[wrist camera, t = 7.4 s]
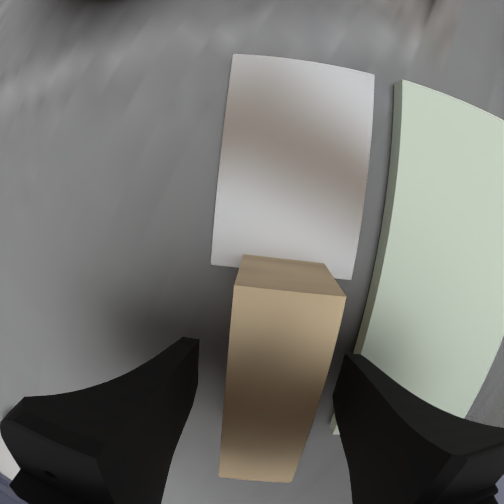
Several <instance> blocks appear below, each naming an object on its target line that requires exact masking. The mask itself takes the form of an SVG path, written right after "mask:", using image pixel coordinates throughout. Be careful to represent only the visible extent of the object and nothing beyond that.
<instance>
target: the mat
mask: <svg viewBox="0 0 504 504" xmlns="http://www.w3.org/2000/svg"><path fill="white" fill-rule="evenodd" d="M503 336H504V120H502V119H500V118H498V117H496V116H494V115H492V114H490V113H488V112H486V111H484V110H482V109H479V108H477V107H475V106H473V105H471V104H468V103H466V102H464V101H461V100H459V99H456V98H454V97H451V96H449V95H446V94H444V93H441V92H438V91H436V90H433V89H430V88H427V87H424V86H422V85H419V84H416V83H412V82H409V81H406V80H403V79H402V80H401V81H399V82H398V83H397V84H395V85H394V111H393V130H392V144H391V156H390V166H389V175H388V184H387V192H386V200H385V207H384V214H383V221H382V227H381V233H380V239H379V245H378V250H377V255H376V261H375V266H374V271H373V276H372V280H371V285H370V289H369V294H368V298H367V303H366V307H365V311H364V315H363V319H362V323H361V327H360V330H359V334H358V338H357V342H356V345H355V349H354V352H353V354H361V355H362V356H364V357H365V358H367V359H368V360H369V361H371V362H372V363H373V364H374V365H376V366H377V367H378V368H379V369H380V370H382V371H383V372H384V373H385V374H387V375H388V376H389V377H391V378H392V379H393V380H394V381H396V382H397V383H398V384H400V385H401V386H402V387H404V388H405V389H407V390H408V391H410V392H411V393H413V394H414V395H416V396H417V397H419V398H421V399H422V400H424V401H426V402H428V403H429V404H431V405H433V406H435V407H437V408H439V409H441V410H443V411H446V412H448V413H450V414H453V415H455V416H458V417H460V418H463V419H464V418H465V416H466V414H467V413H468V411H469V409H470V407H471V406H472V404H473V402H474V400H475V398H476V396H477V394H478V392H479V390H480V388H481V386H482V384H483V382H484V380H485V378H486V376H487V374H488V372H489V370H490V367H491V365H492V363H493V361H494V358H495V356H496V354H497V351H498V349H499V346H500V344H501V341H502V339H503ZM330 425H331V430H332V434H333V435H339V434H340V433H339V430H338V426H337V422H336V419H335V413H334V414H333V417H332V420H331V422H330Z"/></svg>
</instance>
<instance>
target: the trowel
mask: <svg viewBox="0 0 504 504" xmlns="http://www.w3.org/2000/svg"><path fill="white" fill-rule="evenodd" d="M373 102H374V74H370V73H366V72H362V71H357V70H353V69H348V68H343V67H338V66H333V65H328V64H322V63H316V62H310V61H303V60H296V59H289V58H280V57H271V56H259V55H245V54H233V59H232V66H231V74H230V81H229V88H228V96H227V104H226V112H225V120H224V129H223V137H222V146H221V155H220V165H219V175H218V185H217V195H216V206H215V217H214V228H213V241H212V253H211V265H219V266H227V267H236V268H239V271H238V274H237V277H236V281H235V284H234V292H233V303H232V314H231V325H230V336H229V348H228V359H227V371H226V384H225V396H224V409H223V421H222V435H221V448H220V462H219V477H224V478H232V479H242V480H253V481H267V482H292V479H293V477H294V474H295V472H296V469H297V466H298V464H299V461H300V458H301V455H302V453H303V450H304V447H305V444H306V441H307V439H308V436H309V433H310V430H311V427H312V424H313V421H314V417H315V414H316V411H317V408H318V405H319V402H320V398H321V395H322V392H323V388H324V385H325V381H326V378H327V374H328V371H329V367H330V363H331V360H332V356H333V352H334V348H335V344H336V340H337V336H338V332H339V328H340V324H341V319H342V315H343V311H344V306H345V301H346V295H345V294H344V292H343V291H342V289H341V288H340V286H339V285H338V283H337V282H336V280H335V279H334V278H336V279H346V280H351V279H352V273H353V268H354V263H355V257H356V252H357V246H358V240H359V234H360V228H361V221H362V215H363V208H364V200H365V193H366V184H367V176H368V167H369V157H370V146H371V134H372V120H373Z"/></svg>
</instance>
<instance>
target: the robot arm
mask: <svg viewBox="0 0 504 504" xmlns="http://www.w3.org/2000/svg"><path fill="white" fill-rule="evenodd" d="M198 358H199V339H192V338H186V337H182V338H181V339H179V340H178V341H176V342H175V343H174V344H172V345H171V346H170V347H168V348H167V349H165V350H164V351H163V352H161V353H160V354H158V355H157V356H155V357H154V358H152V359H151V360H149V361H148V362H146V363H144V364H143V365H141V366H139V367H137V368H136V369H134V370H132V371H130V372H128V373H126V374H124V375H122V376H120V377H117V378H115V379H113V380H110V381H108V382H105V383H102V384H99V385H96V386H93V387H89V388H86V389H82V390H78V391H74V392H69V393H63V394H56V395H47V396H33V397H24V398H23V399H22V400H21V401H20V402H19V403H18V404H17V405H16V406H15V407H14V408H13V409H12V410H11V411H10V412H9V413H8V414H7V415H6V416H5V418H4V419H3V420H2V421H1V422H0V433H1V437H2V439H3V441H4V443H5V445H6V447H7V448H8V450H9V452H10V453H11V455H12V457H13V458H14V460H15V461H16V463H17V465H18V466H19V468H20V470H19V472H18V473H17V475H16V476H15V477H14V479H13V480H11V479H10V478H8V477H7V476H5V475H4V474H2V473H1V472H0V504H161V501H162V497H163V493H164V488H165V484H166V480H167V476H168V472H169V468H170V464H171V460H172V457H173V454H174V451H175V448H176V446H177V443H178V441H179V438H180V436H181V433H182V431H183V428H184V426H185V423H186V421H187V418H188V416H189V413H190V410H191V408H192V405H193V402H194V398H195V393H196V389H197V385H198ZM333 405H334V413H335V419H336V422H337V426H338V430H339V433H340V437H341V441H342V444H343V448H344V451H345V455H346V459H347V463H348V468H349V473H350V481H351V490H352V502H353V504H504V428H500V427H494V426H489V425H484V424H480V423H476V422H473V421H469V420H466V419H463V418H460V417H458V416H455V415H453V414H450V413H448V412H446V411H443V410H441V409H439V408H437V407H435V406H433V405H431V404H429V403H428V402H426V401H424V400H422V399H421V398H419V397H417V396H416V395H414V394H413V393H411V392H410V391H408V390H407V389H405V388H404V387H402V386H401V385H400V384H398V383H397V382H396V381H394V380H393V379H392V378H391V377H389V376H388V375H387V374H385V373H384V372H383V371H382V370H380V369H379V368H378V367H377V366H376V365H374V364H373V363H372V362H371V361H369V360H368V359H367V358H365V357H364V356H362V355H361V354H345V356H344V359H343V363H342V366H341V370H340V373H339V376H338V380H337V383H336V386H335V389H334V392H333Z"/></svg>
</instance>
